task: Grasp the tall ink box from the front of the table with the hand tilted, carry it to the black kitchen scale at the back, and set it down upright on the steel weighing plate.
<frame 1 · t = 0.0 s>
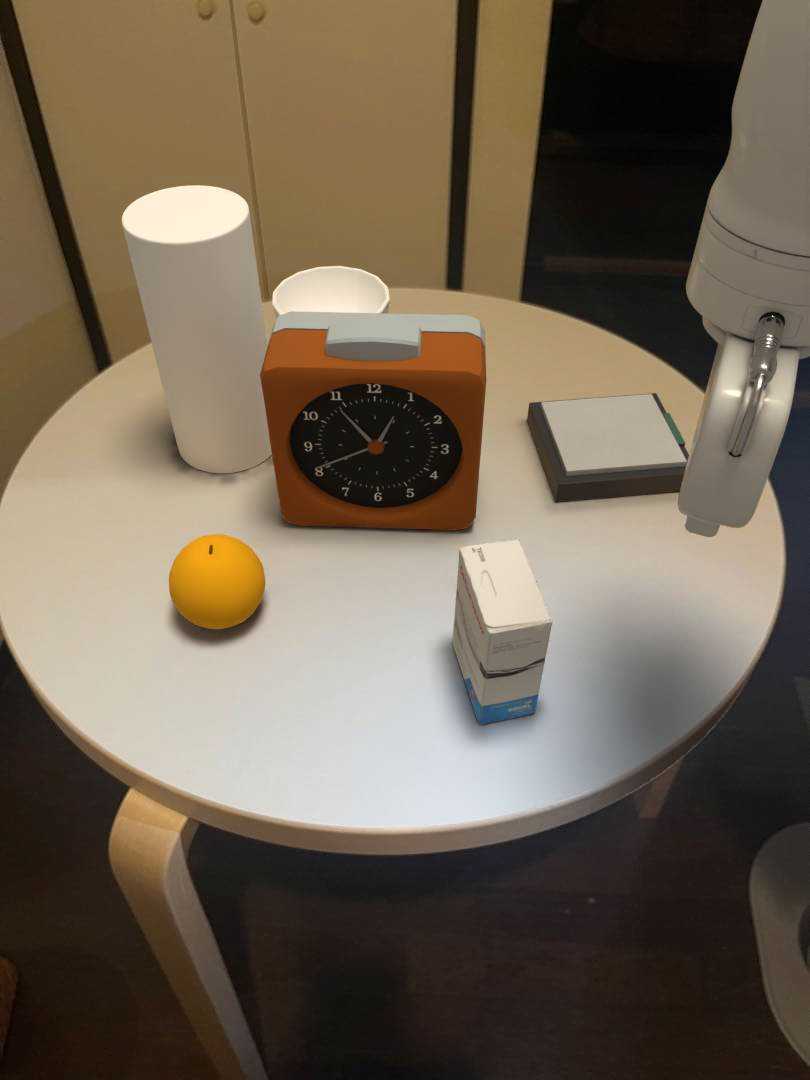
hand: (712, 476, 53), 23 cm above the table, tool pointing down, fingers open, 8 cm apart
orange fruit with stem: (224, 608, 76), on the table
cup: (337, 383, 98), on the table
tall pillar cylinder: (229, 441, 91), on the table
scale: (606, 453, 90), on the table
ink box: (492, 677, 70), on the table
alarm clock: (380, 500, 85), on the table
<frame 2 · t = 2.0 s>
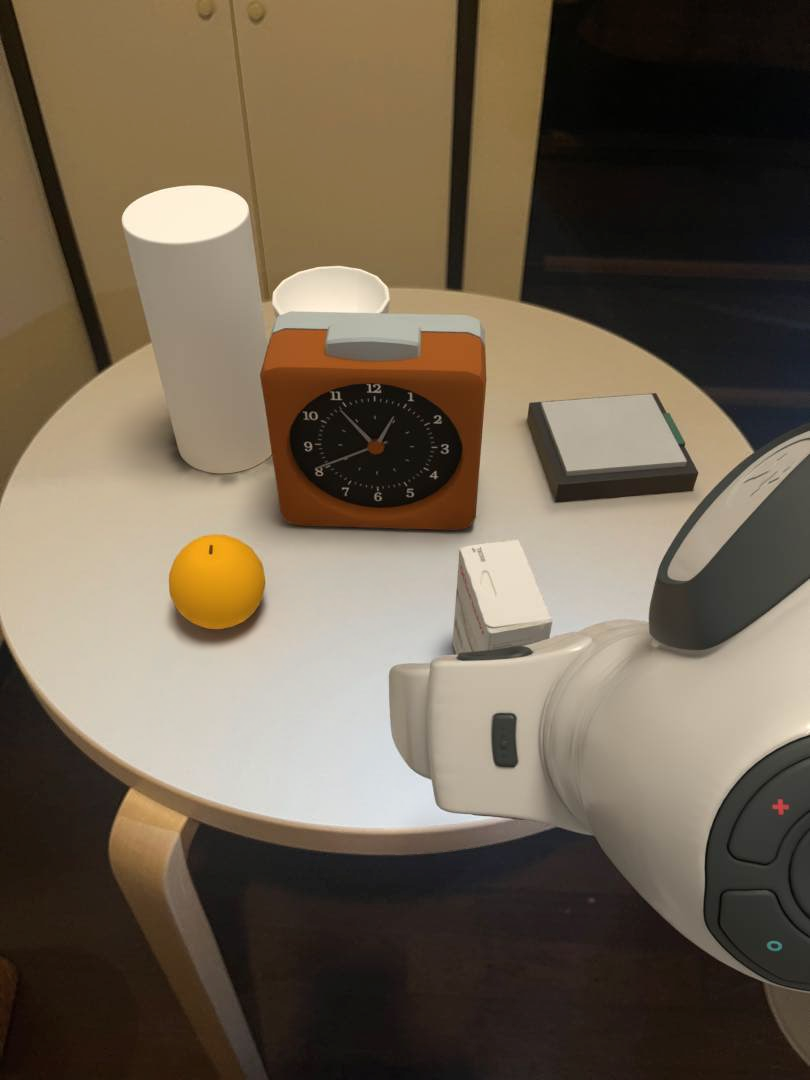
hand: (557, 675, 50), 17 cm above the table, tool tilted 45°, fingers open, 8 cm apart
nothing on the table moved.
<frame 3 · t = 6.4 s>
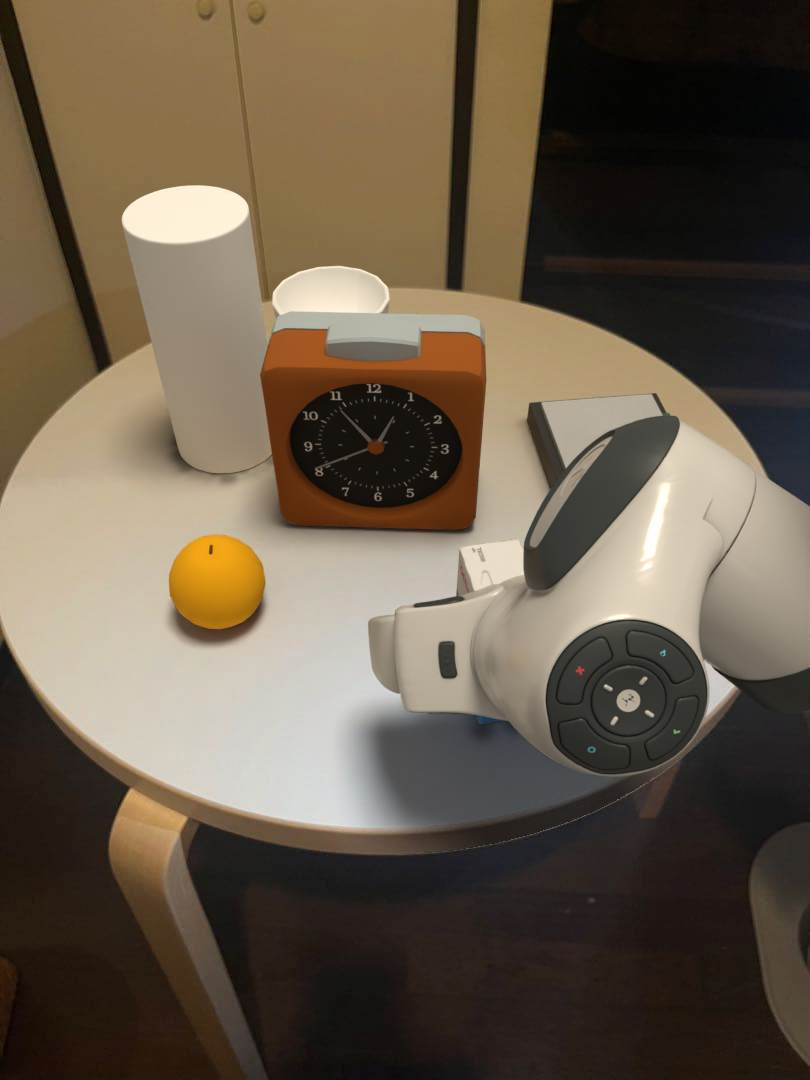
hand: (496, 621, 66), 6 cm above the table, tool tilted 45°, fingers closed on ink box, 5 cm apart
ink box: (492, 678, 70), on the table, touching gripper
everything else where it was.
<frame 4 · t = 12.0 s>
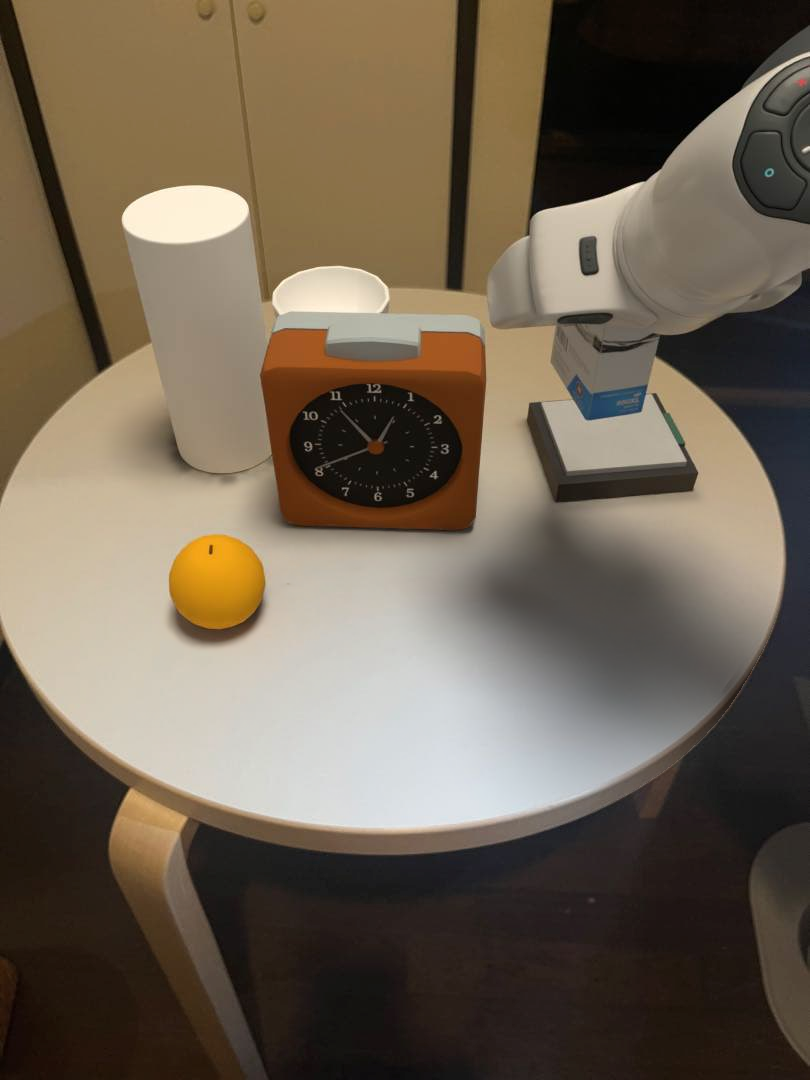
hand: (605, 312, 65), 23 cm above the table, tool tilted 45°, fingers closed on ink box, 5 cm apart
ink box: (594, 388, 70), point 17 cm above the table, touching gripper
everything else where it was.
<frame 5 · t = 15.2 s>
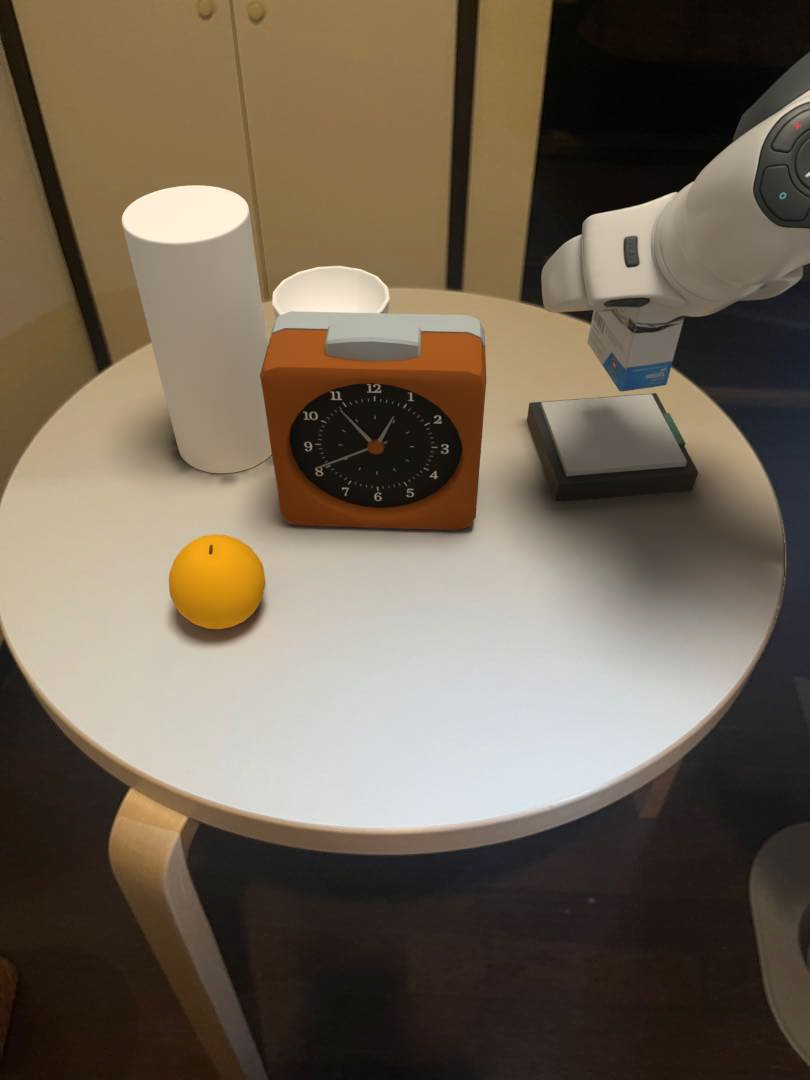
hand: (636, 300, 77), 18 cm above the table, tool tilted 45°, fingers closed on ink box, 5 cm apart
ink box: (625, 365, 82), point 11 cm above the table, touching gripper
everything else where it was.
when the fingers open (9 cm above the table, at t = 17.9 s): ink box stays where it is, resting on scale.
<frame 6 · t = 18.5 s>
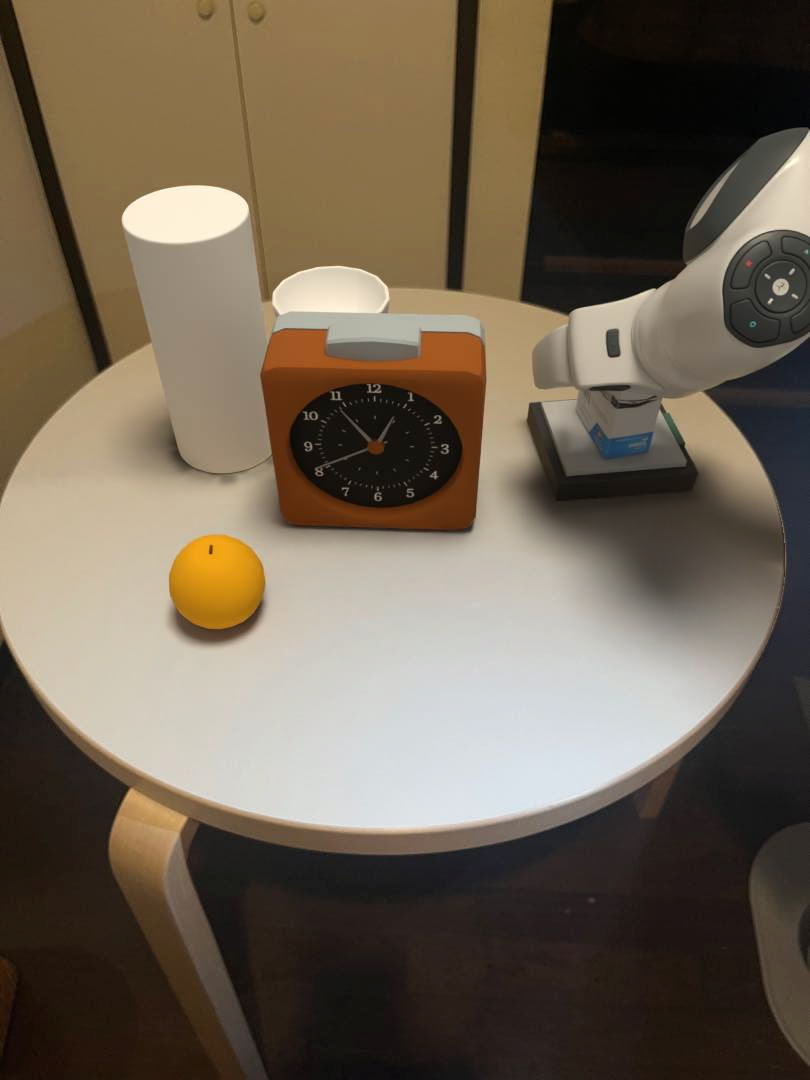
hand: (622, 371, 83), 10 cm above the table, tool tilted 45°, fingers open, 8 cm apart
ink box: (610, 432, 87), point 3 cm above the table, touching scale
everything else where it was.
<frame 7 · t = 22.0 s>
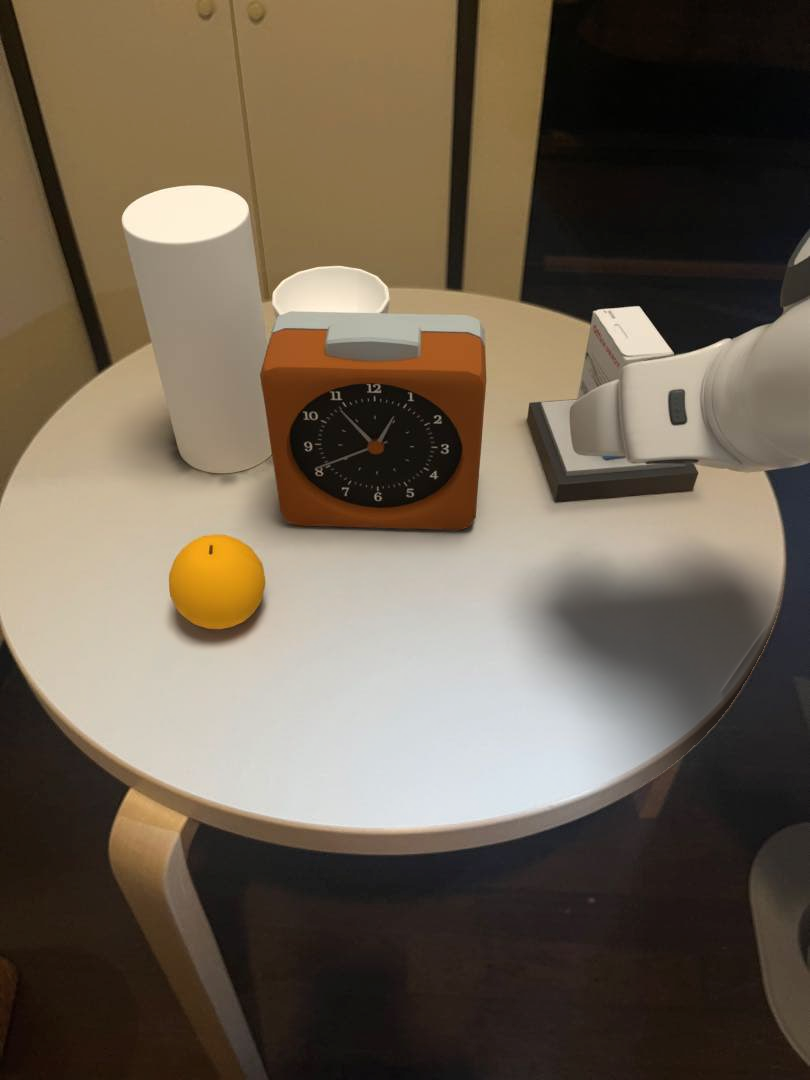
hand: (674, 427, 69), 15 cm above the table, tool tilted 45°, fingers open, 8 cm apart
nothing on the table moved.
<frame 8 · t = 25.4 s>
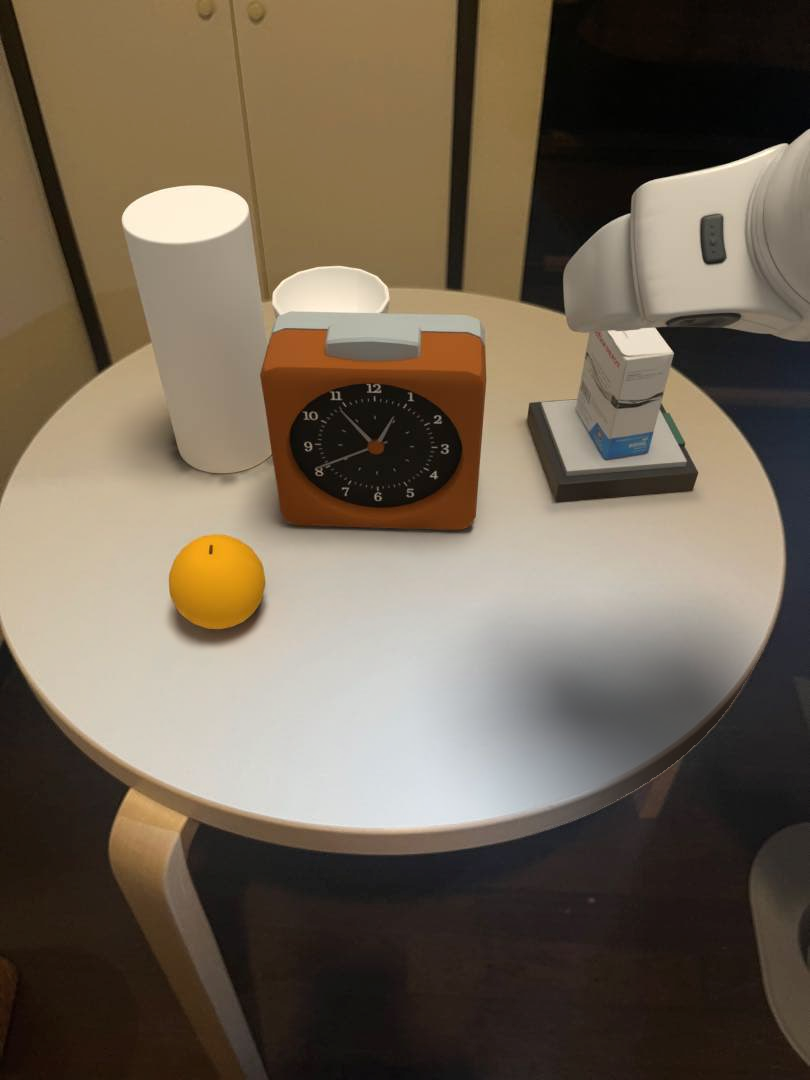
hand: (697, 312, 54), 29 cm above the table, tool tilted 45°, fingers open, 8 cm apart
nothing on the table moved.
at the end: ink box inside the target area on the scale (0.1 cm from its centre), point 2.9 cm above the scale's base; ink box tilted 0°; the gripper is holding nothing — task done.
